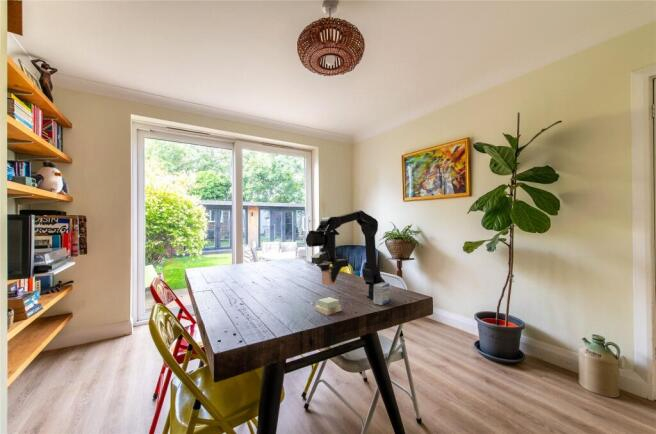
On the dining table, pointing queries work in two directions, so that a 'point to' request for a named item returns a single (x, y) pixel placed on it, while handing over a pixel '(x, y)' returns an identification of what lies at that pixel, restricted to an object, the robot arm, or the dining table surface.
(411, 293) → the dining table surface
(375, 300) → the medicine box
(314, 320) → the dining table surface
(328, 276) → the terracotta block
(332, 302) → the sage slab
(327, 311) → the maple slab
